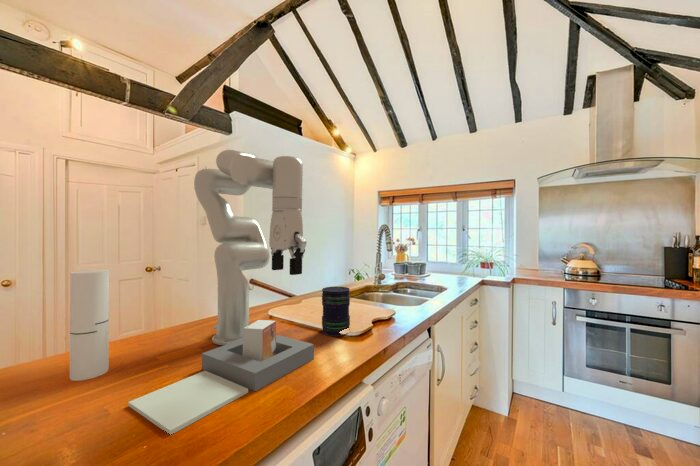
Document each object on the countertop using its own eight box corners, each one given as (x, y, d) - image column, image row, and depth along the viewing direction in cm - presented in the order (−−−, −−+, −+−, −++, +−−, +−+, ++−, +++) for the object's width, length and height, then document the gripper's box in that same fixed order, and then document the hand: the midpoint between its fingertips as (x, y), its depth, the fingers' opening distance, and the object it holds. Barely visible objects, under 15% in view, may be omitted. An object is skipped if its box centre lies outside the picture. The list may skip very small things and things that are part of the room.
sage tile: (128, 405, 58) (128, 401, 58) (204, 373, 72) (205, 370, 72) (170, 435, 50) (170, 430, 50) (248, 392, 63) (248, 388, 63)
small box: (262, 371, 73) (262, 329, 73) (241, 369, 74) (242, 328, 74) (276, 358, 81) (276, 320, 81) (258, 356, 82) (258, 319, 82)
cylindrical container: (115, 369, 74) (115, 270, 74) (81, 382, 68) (82, 273, 68) (96, 365, 77) (97, 269, 77) (62, 377, 70) (63, 272, 70)
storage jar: (326, 337, 97) (326, 292, 97) (318, 328, 106) (318, 287, 106) (354, 334, 101) (354, 290, 101) (344, 325, 110) (344, 285, 110)
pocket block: (201, 369, 74) (201, 353, 74) (263, 344, 91) (263, 331, 91) (255, 391, 64) (255, 373, 64) (313, 358, 81) (313, 344, 81)
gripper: (259, 206, 80) (258, 269, 80) (290, 202, 67) (289, 278, 67) (284, 208, 85) (283, 267, 85) (318, 205, 72) (317, 275, 72)
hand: (286, 272), depth 76 cm, fingers open, 9 cm apart
